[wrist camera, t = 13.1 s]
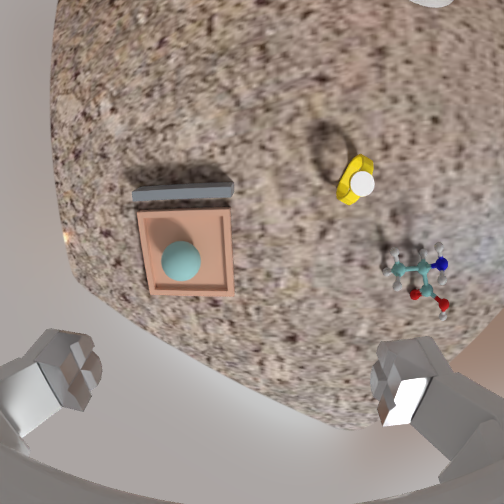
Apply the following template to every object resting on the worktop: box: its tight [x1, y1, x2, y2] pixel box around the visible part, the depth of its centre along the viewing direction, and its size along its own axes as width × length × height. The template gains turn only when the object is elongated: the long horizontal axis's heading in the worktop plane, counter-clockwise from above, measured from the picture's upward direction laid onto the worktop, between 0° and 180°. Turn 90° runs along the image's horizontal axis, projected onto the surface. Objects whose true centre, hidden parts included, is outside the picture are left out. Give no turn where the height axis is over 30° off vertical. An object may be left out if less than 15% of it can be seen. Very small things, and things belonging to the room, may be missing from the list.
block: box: [132, 182, 234, 201], centre depth 36 cm, size 1×12×3 cm, turn 91°
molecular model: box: [383, 242, 449, 320], centre depth 37 cm, size 12×10×10 cm
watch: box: [336, 154, 374, 205], centre depth 33 cm, size 6×3×6 cm, turn 155°
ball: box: [161, 241, 201, 281], centre depth 38 cm, size 5×5×5 cm
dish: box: [137, 207, 235, 297], centre depth 40 cm, size 12×12×1 cm
